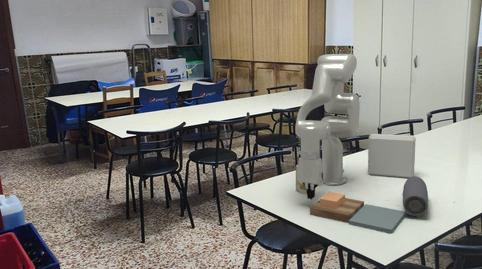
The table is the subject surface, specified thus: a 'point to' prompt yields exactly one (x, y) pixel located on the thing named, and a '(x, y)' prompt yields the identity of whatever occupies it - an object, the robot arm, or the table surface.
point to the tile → (332, 200)
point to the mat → (377, 218)
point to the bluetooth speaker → (415, 196)
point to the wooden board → (338, 210)
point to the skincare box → (300, 186)
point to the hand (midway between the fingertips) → (310, 197)
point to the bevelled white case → (391, 155)
